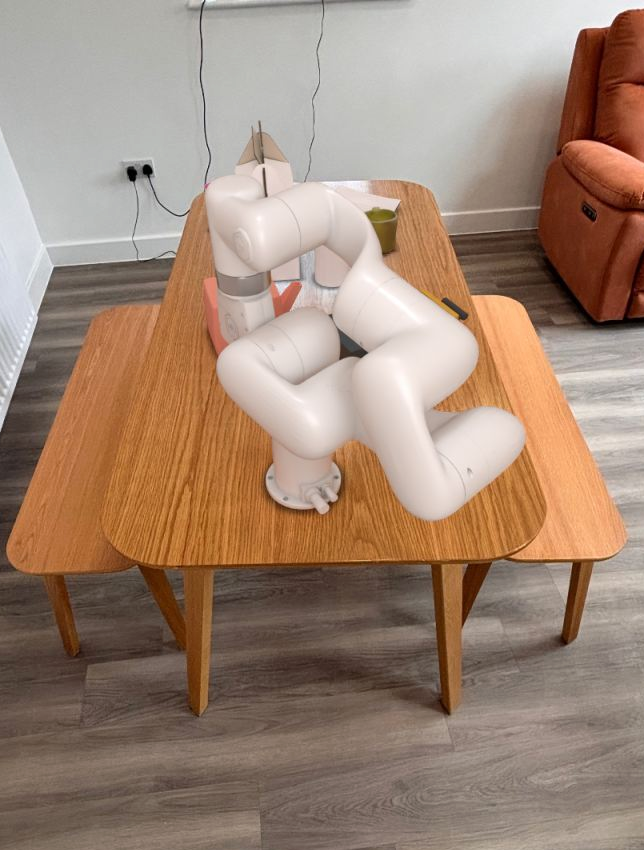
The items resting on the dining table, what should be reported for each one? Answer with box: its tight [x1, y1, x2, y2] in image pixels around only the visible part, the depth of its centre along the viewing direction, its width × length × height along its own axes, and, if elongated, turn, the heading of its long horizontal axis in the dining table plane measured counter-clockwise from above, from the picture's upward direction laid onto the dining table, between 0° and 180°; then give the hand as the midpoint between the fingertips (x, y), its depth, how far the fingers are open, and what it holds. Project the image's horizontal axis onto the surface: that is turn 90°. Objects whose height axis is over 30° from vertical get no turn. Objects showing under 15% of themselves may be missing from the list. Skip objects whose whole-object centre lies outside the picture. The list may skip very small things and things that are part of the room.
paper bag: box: [234, 120, 301, 282], centre depth 146 cm, size 22×13×28 cm, turn 5°
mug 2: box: [364, 207, 399, 255], centre depth 156 cm, size 12×10×10 cm
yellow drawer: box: [418, 287, 469, 322], centre depth 128 cm, size 18×11×8 cm, turn 119°
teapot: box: [203, 276, 303, 358], centre depth 130 cm, size 20×22×14 cm
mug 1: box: [313, 245, 351, 288], centre depth 146 cm, size 8×12×10 cm
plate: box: [335, 185, 402, 212], centre depth 169 cm, size 20×20×3 cm
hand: (255, 382), depth 101 cm, fingers closed on block, 4 cm apart
